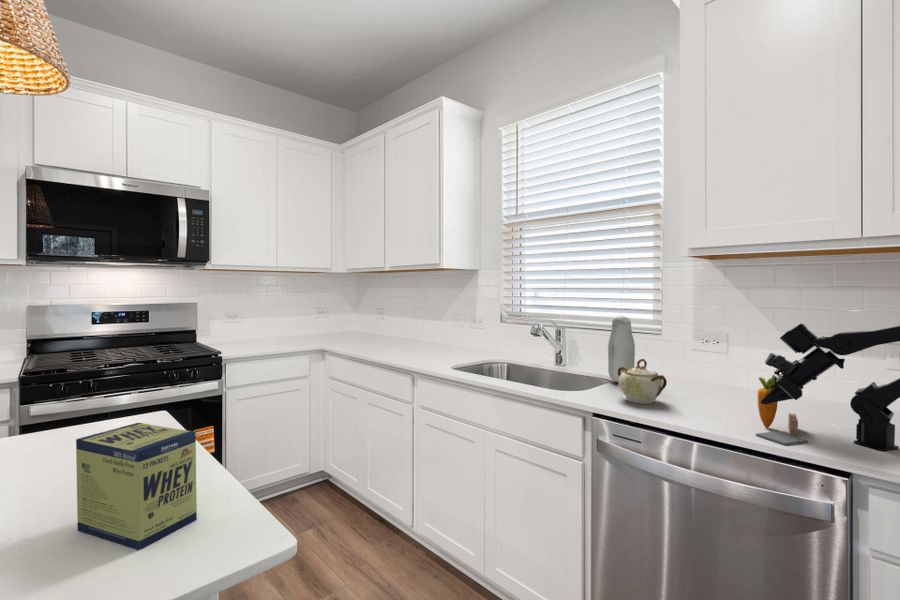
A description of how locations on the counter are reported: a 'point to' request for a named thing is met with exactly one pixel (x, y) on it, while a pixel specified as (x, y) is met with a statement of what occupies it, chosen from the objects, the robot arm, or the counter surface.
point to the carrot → (766, 410)
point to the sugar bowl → (641, 384)
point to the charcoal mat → (781, 438)
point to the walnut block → (793, 424)
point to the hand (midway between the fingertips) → (761, 401)
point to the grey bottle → (620, 347)
